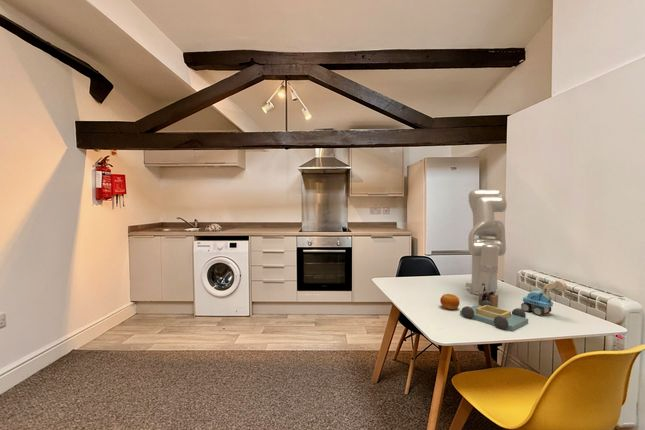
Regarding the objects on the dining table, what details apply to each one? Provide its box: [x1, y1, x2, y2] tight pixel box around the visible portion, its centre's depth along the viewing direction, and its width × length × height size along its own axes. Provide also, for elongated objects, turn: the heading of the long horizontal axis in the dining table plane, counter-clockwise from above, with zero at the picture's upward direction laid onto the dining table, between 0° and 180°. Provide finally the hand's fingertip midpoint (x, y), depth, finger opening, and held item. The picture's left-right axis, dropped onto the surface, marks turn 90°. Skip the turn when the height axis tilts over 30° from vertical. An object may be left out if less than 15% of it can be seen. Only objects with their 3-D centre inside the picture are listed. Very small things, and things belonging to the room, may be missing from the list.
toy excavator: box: [520, 279, 568, 317], centre depth 140 cm, size 9×17×17 cm, turn 27°
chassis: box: [459, 300, 529, 332], centre depth 134 cm, size 22×18×5 cm
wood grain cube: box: [477, 293, 499, 308], centre depth 151 cm, size 7×5×6 cm
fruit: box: [440, 293, 460, 310], centre depth 148 cm, size 8×8×8 cm
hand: (488, 304), depth 151 cm, fingers closed on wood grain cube, 5 cm apart
